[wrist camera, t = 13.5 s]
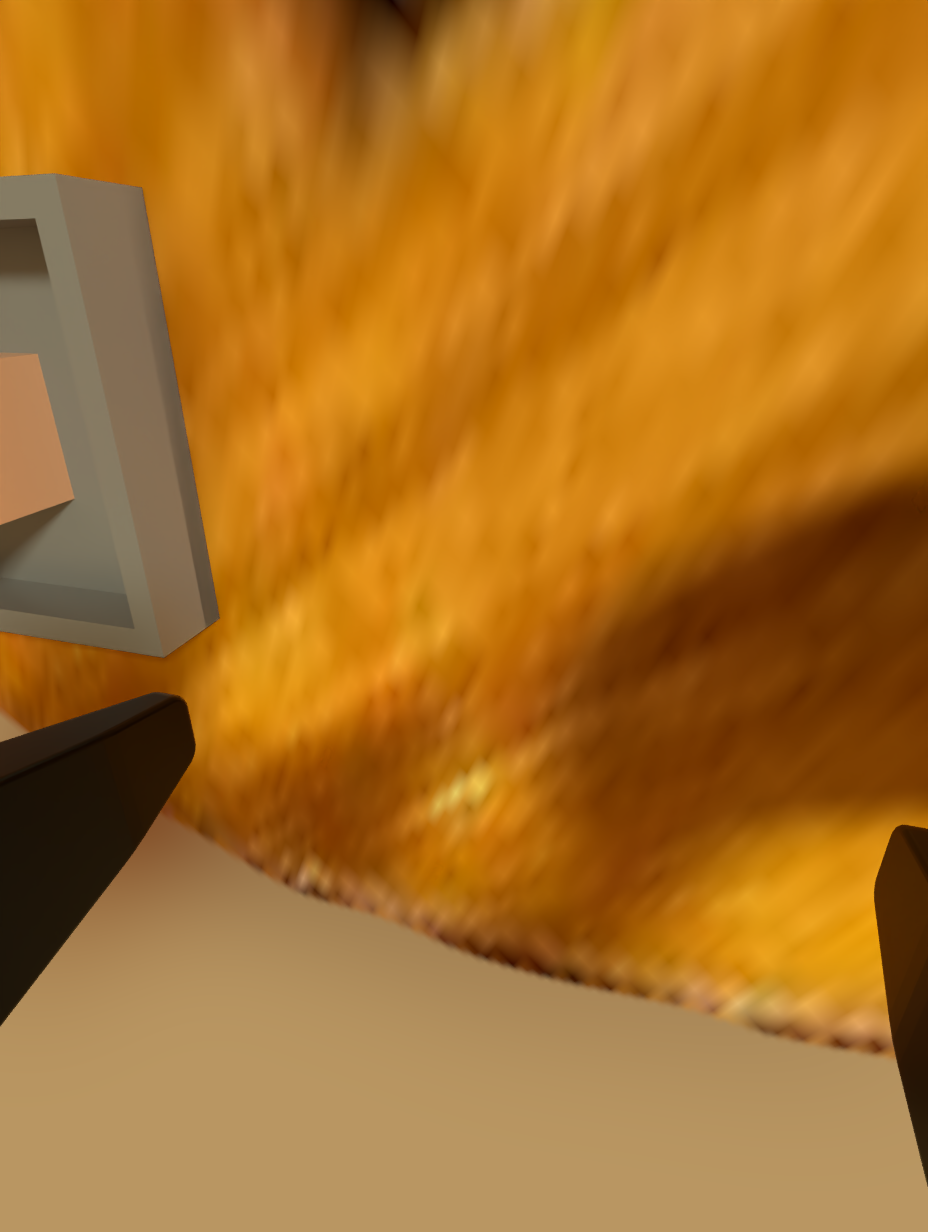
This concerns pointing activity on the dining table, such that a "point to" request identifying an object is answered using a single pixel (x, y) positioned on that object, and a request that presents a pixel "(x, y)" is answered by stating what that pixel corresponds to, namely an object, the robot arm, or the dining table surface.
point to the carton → (28, 441)
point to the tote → (100, 426)
